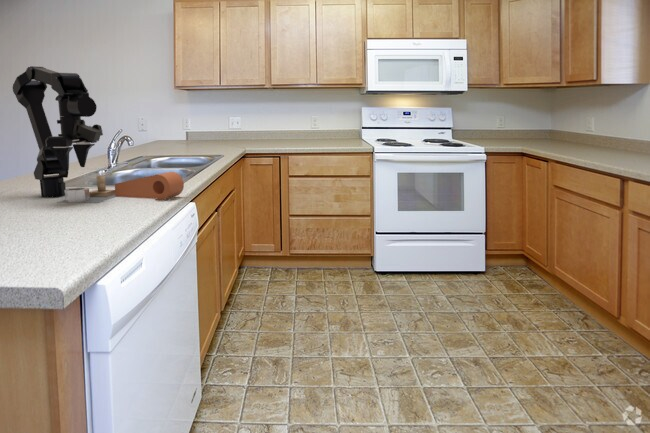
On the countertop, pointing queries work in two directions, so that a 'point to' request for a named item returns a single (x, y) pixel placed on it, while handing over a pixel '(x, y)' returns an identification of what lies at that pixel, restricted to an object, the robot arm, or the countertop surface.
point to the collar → (77, 194)
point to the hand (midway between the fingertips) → (74, 168)
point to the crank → (152, 186)
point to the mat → (92, 200)
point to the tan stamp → (101, 188)
